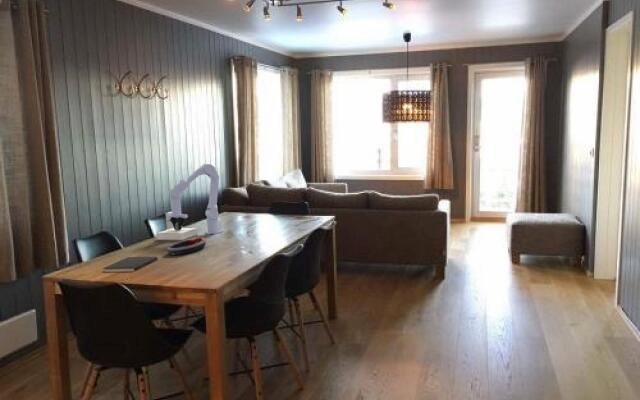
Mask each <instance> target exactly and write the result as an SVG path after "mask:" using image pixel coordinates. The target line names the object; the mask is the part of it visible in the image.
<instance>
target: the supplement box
mask: <svg viewBox="0 0 640 400" xmlns="http://www.w3.org/2000/svg"><path fill="white" fill-rule="evenodd" d="M169 214H172V211H169V212H165V216H166V215H169ZM170 219H171V218H166V217H165V222H166V223H165V225H166V230H167V229H171V228H174V227H173V224H172V222H171V221H170Z"/></svg>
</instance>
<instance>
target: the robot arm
mask: <svg viewBox="0 0 640 400" xmlns="http://www.w3.org/2000/svg"><path fill="white" fill-rule="evenodd" d="M204 175H207V177H208V178H209V179H210V184H209V196H208V204H207V207H206V210H205V211H204V212H205V213H204V214H205V216H206V228H207V230H206V231H207V232H205V233H204V234H205V235H217V234H219V233H222V232H224V230H223V228H222V220H221V219H220V218H219V211H218V210H219V209H218V205H217V203H218V195H219V193H218V192H219V185H220V184H219V182H220V175H219V174H218V172H217V168H216V167H215V166H214V165H213V164H211V163H203V164H202V165H201V166H199V167H198V168H197V169H196V170H195V171H194V172H192V173H191V175H190V176H188V177H187V178H186V179H182V180H181V179H180V180H179V183H178V184H176V185H174V186H173V188H171V189H170V190H169V192H168V195H169V196H170V207H171V212H172V214H169V215H166V214H165V219H166V218H171V219H170V221H171V222H172V224H173V227H174V230H176V228H175V224H176V223H178V229H179V230H180V229H182V228H183V223H184V221H185V219H187V218H189V216H188V214H186V213H182V205H181V198H180V197H181V194H182V193H184V192H185V191H187V189H188V188H189V187H190V184H191V183H192V182H194V181H195V180H196V179H197V178H198V177H200V176H204Z"/></svg>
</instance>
